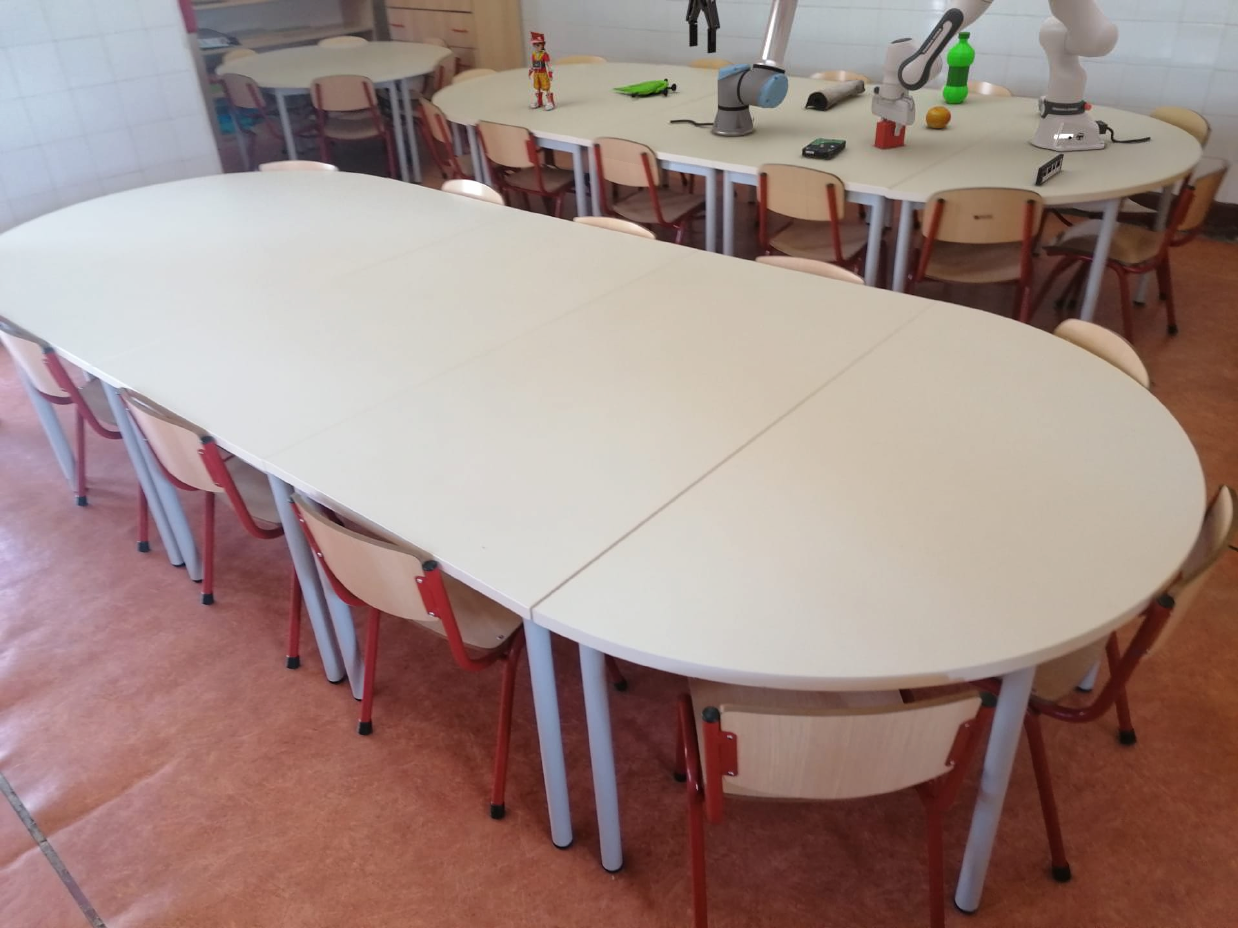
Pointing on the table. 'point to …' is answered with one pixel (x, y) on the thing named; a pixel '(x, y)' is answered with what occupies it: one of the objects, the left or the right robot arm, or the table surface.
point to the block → (888, 135)
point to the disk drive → (823, 148)
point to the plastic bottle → (958, 69)
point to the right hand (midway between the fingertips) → (890, 133)
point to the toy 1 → (541, 71)
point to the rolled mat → (834, 94)
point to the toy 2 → (648, 88)
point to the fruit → (938, 117)
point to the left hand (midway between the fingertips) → (702, 49)
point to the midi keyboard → (1049, 169)
